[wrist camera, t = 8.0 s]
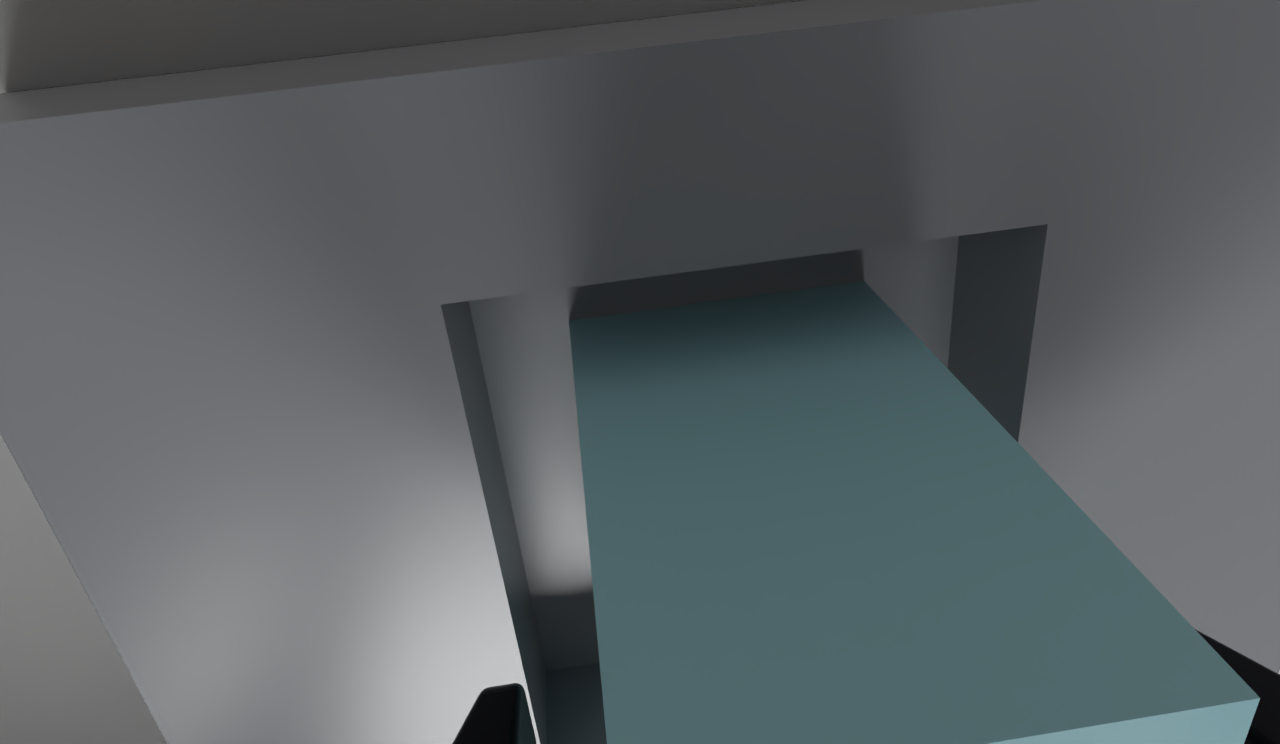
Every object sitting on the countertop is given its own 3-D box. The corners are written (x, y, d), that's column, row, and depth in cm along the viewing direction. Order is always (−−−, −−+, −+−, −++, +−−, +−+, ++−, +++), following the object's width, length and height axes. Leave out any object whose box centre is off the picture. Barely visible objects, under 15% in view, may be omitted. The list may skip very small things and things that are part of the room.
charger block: (611, 604, 13) (676, 1172, 7) (568, 321, 11) (612, 806, 5) (855, 566, 14) (1120, 1088, 8) (864, 281, 11) (1261, 697, 5)
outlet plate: (302, 779, 15) (244, 994, 12) (2, 93, 10) (-251, 169, 6) (1149, 642, 16) (1296, 811, 13) (1332, -61, 10) (1668, -58, 7)
